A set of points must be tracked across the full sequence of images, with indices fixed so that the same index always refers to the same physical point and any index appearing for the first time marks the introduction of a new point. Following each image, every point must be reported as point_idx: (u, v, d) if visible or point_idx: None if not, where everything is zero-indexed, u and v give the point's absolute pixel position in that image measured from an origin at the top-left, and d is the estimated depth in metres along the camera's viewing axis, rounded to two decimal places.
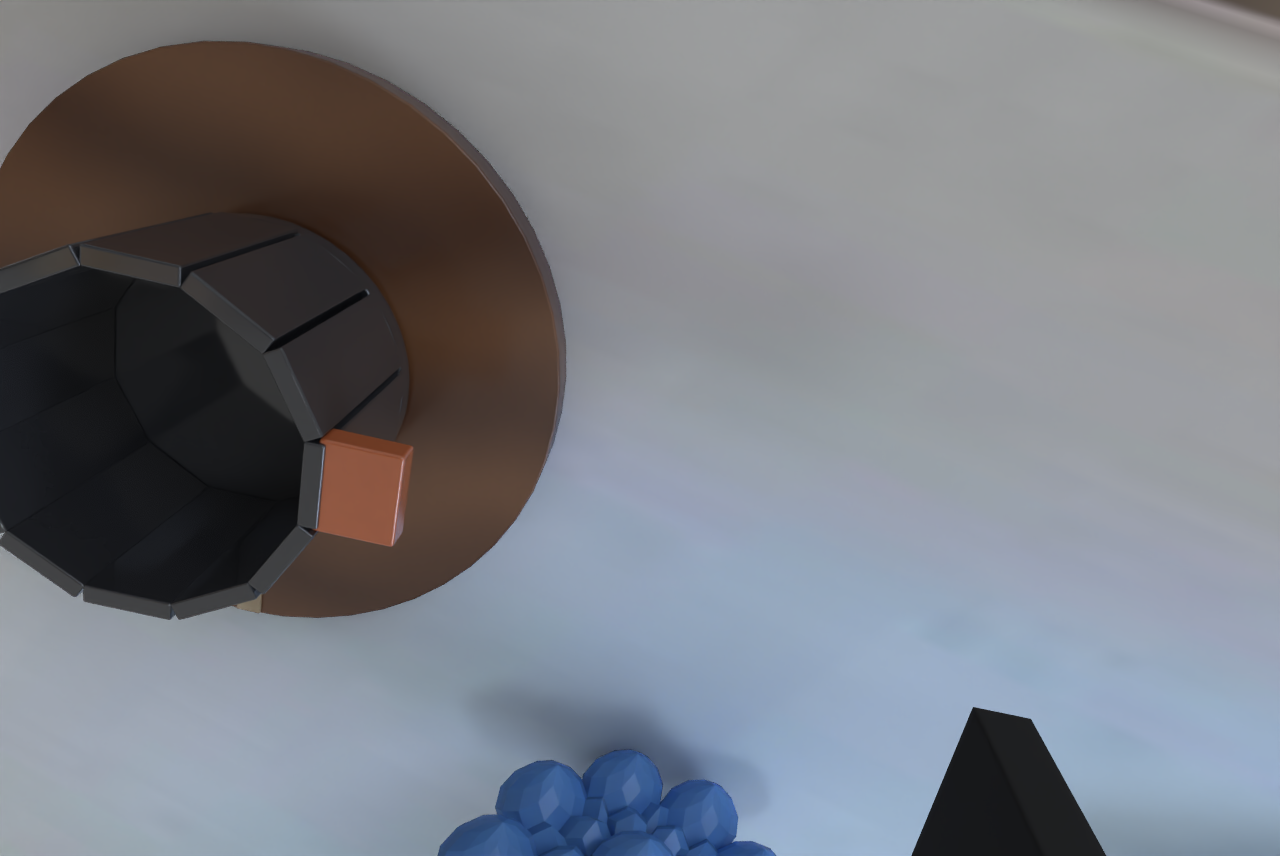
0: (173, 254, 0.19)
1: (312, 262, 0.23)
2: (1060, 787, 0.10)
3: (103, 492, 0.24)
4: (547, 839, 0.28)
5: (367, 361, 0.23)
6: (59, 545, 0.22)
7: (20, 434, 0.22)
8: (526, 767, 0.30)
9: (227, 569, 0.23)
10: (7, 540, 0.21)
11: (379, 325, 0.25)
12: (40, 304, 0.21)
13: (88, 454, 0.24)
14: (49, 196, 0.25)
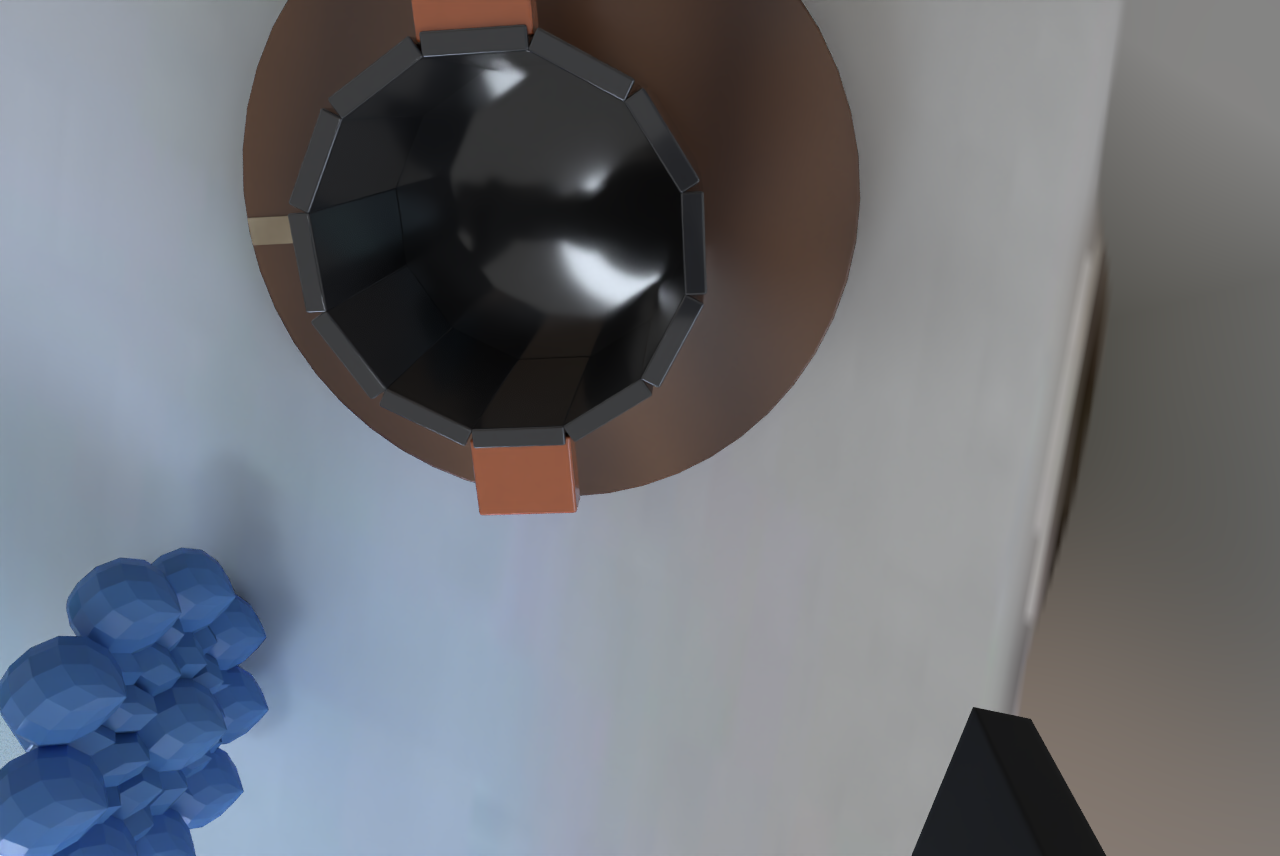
0: None
1: None
2: (1061, 788, 0.10)
3: (381, 137, 0.21)
4: (169, 637, 0.27)
5: None
6: (336, 163, 0.19)
7: (436, 69, 0.20)
8: (213, 564, 0.29)
9: (371, 331, 0.21)
10: (330, 121, 0.18)
11: None
12: None
13: (414, 103, 0.21)
14: None
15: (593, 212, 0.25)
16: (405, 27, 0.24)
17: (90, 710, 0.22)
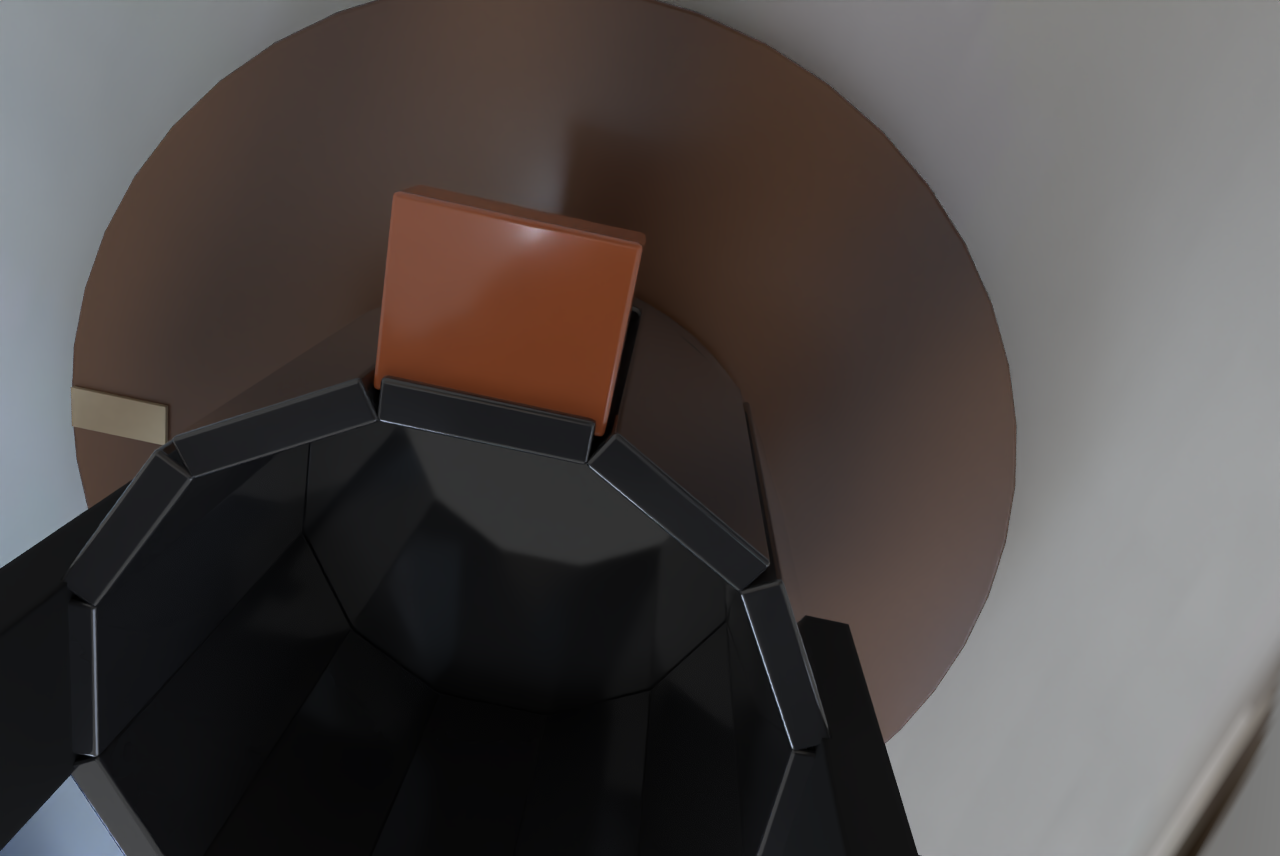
0: None
1: None
2: (859, 677, 0.11)
3: None
4: None
5: None
6: (175, 518, 0.10)
7: None
8: None
9: (189, 746, 0.12)
10: (169, 478, 0.09)
11: None
12: None
13: None
14: (807, 196, 0.15)
15: (606, 535, 0.16)
16: (387, 188, 0.15)
17: None
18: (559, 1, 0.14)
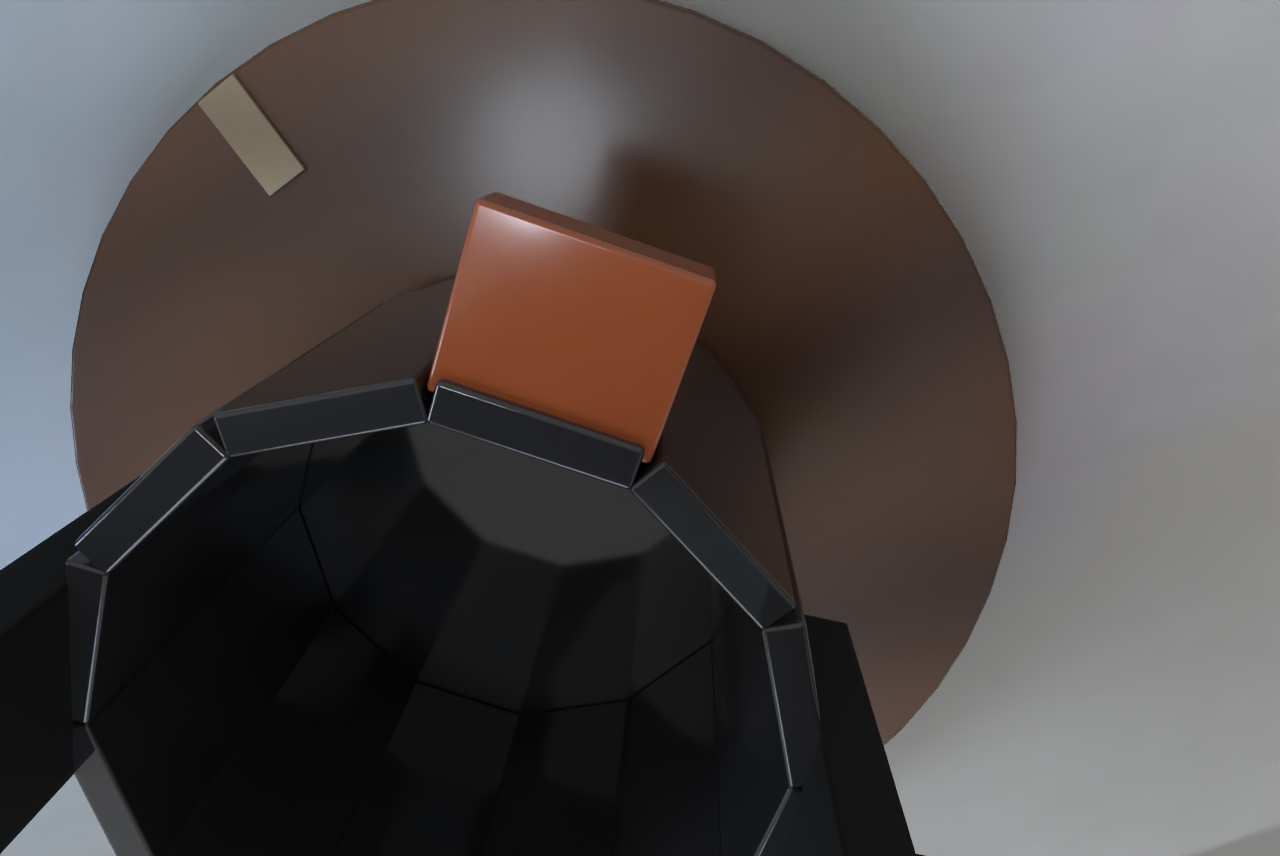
0: None
1: None
2: (858, 677, 0.11)
3: None
4: None
5: None
6: (199, 493, 0.10)
7: None
8: None
9: (174, 718, 0.12)
10: (205, 454, 0.09)
11: None
12: None
13: None
14: (933, 477, 0.16)
15: (604, 545, 0.16)
16: (664, 194, 0.15)
17: None
18: (917, 201, 0.15)
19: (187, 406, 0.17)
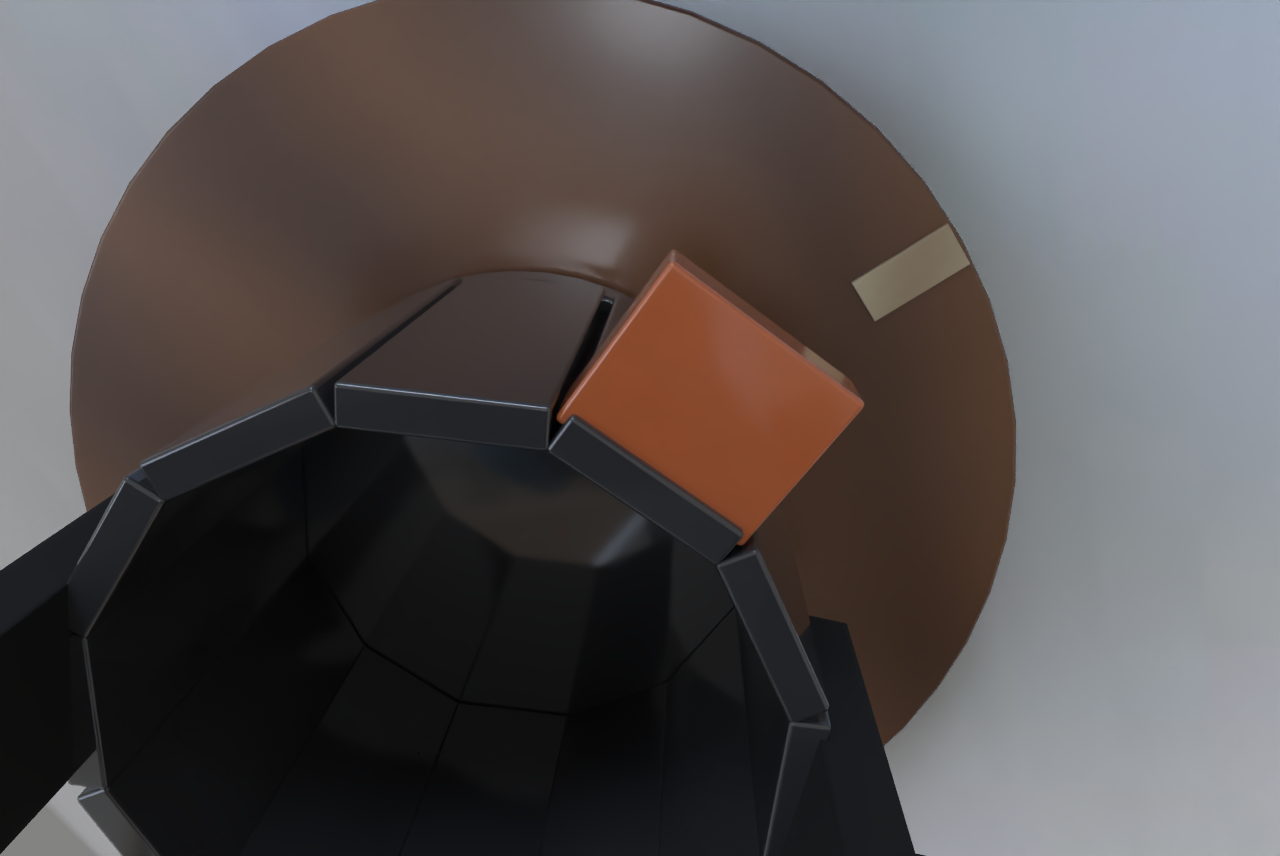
0: None
1: None
2: (857, 676, 0.11)
3: None
4: None
5: None
6: None
7: None
8: None
9: (156, 644, 0.11)
10: (312, 417, 0.09)
11: None
12: None
13: None
14: None
15: (595, 565, 0.16)
16: None
17: None
18: None
19: (624, 147, 0.14)
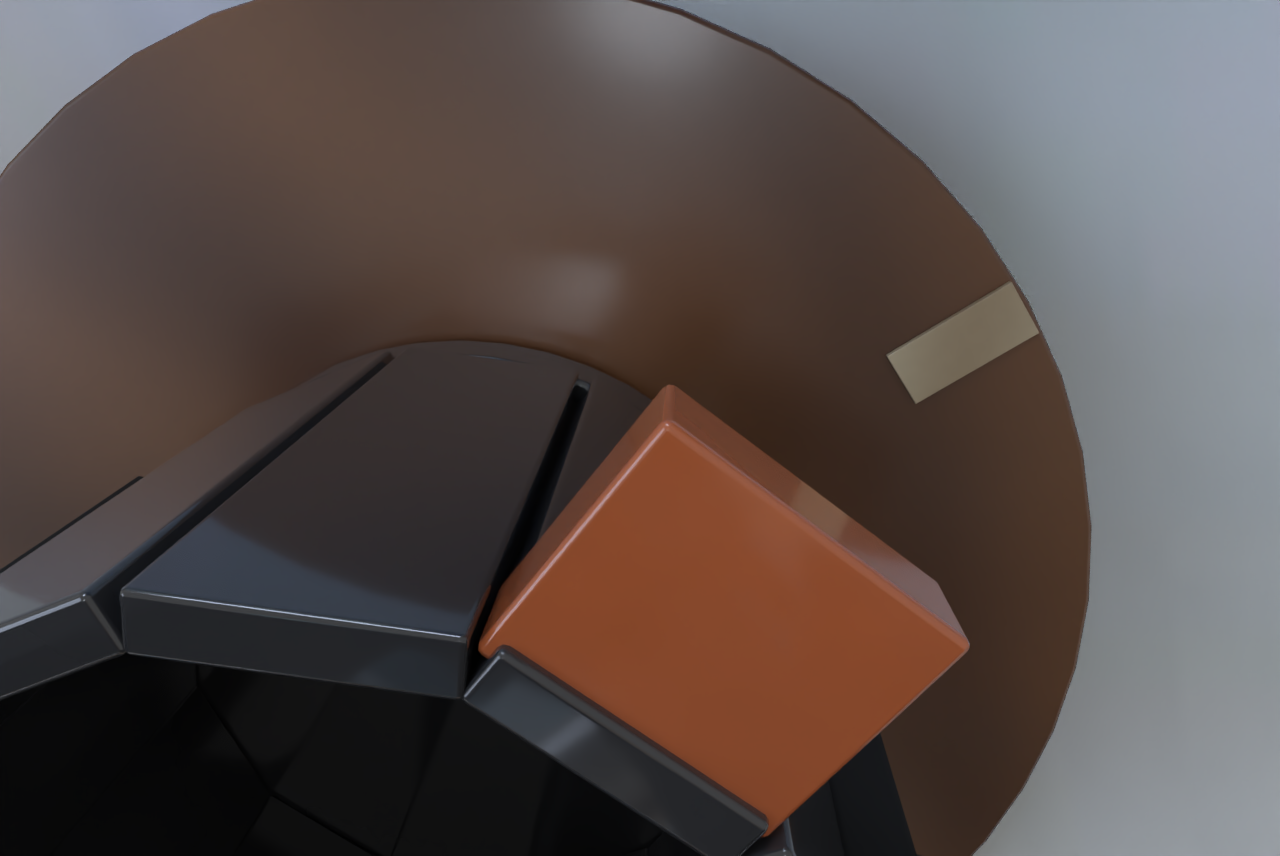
0: None
1: None
2: None
3: None
4: None
5: None
6: None
7: None
8: None
9: None
10: (87, 640, 0.06)
11: None
12: None
13: None
14: None
15: None
16: None
17: None
18: None
19: (594, 183, 0.11)
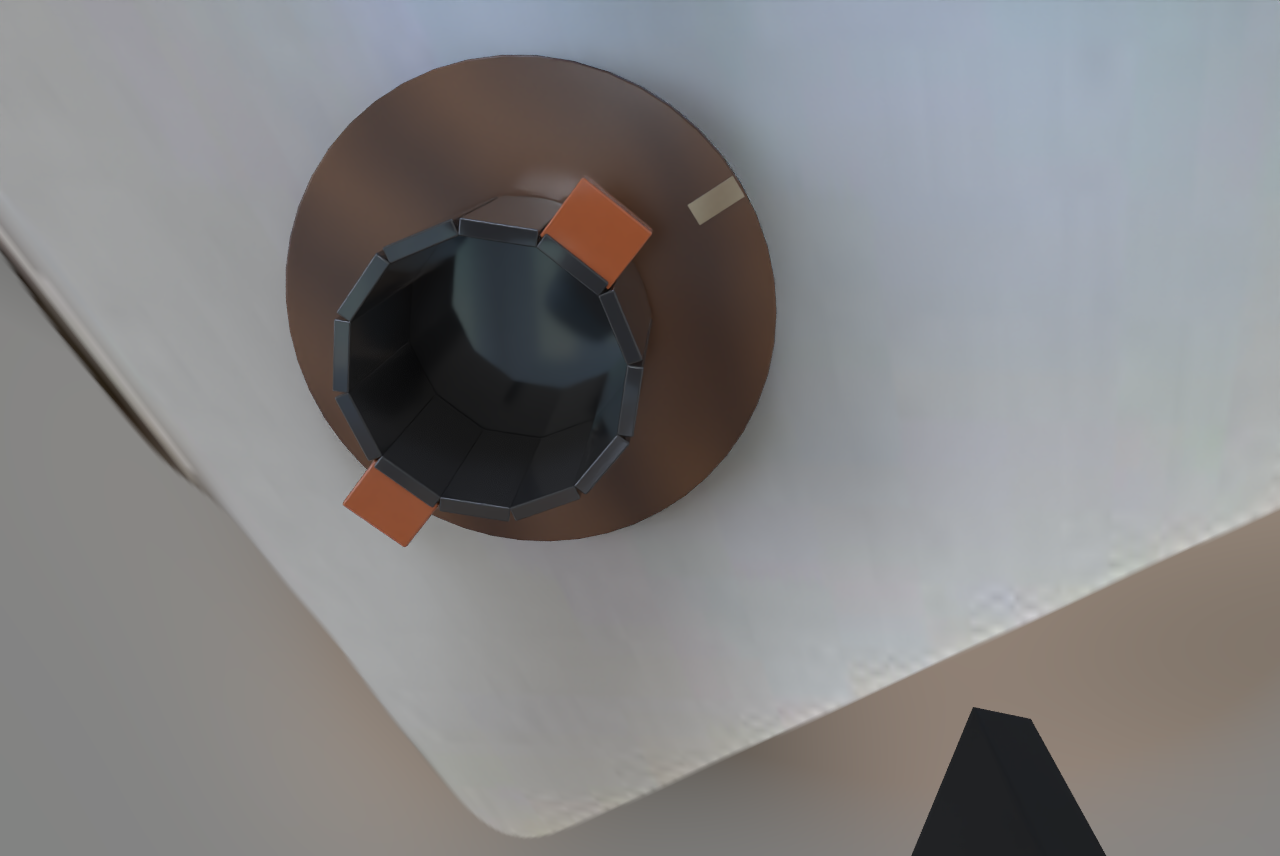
0: None
1: None
2: (1061, 787, 0.10)
3: None
4: None
5: None
6: None
7: None
8: None
9: (364, 341, 0.27)
10: (450, 231, 0.24)
11: None
12: None
13: None
14: None
15: (558, 351, 0.31)
16: (683, 390, 0.33)
17: None
18: (677, 493, 0.34)
19: (575, 135, 0.30)
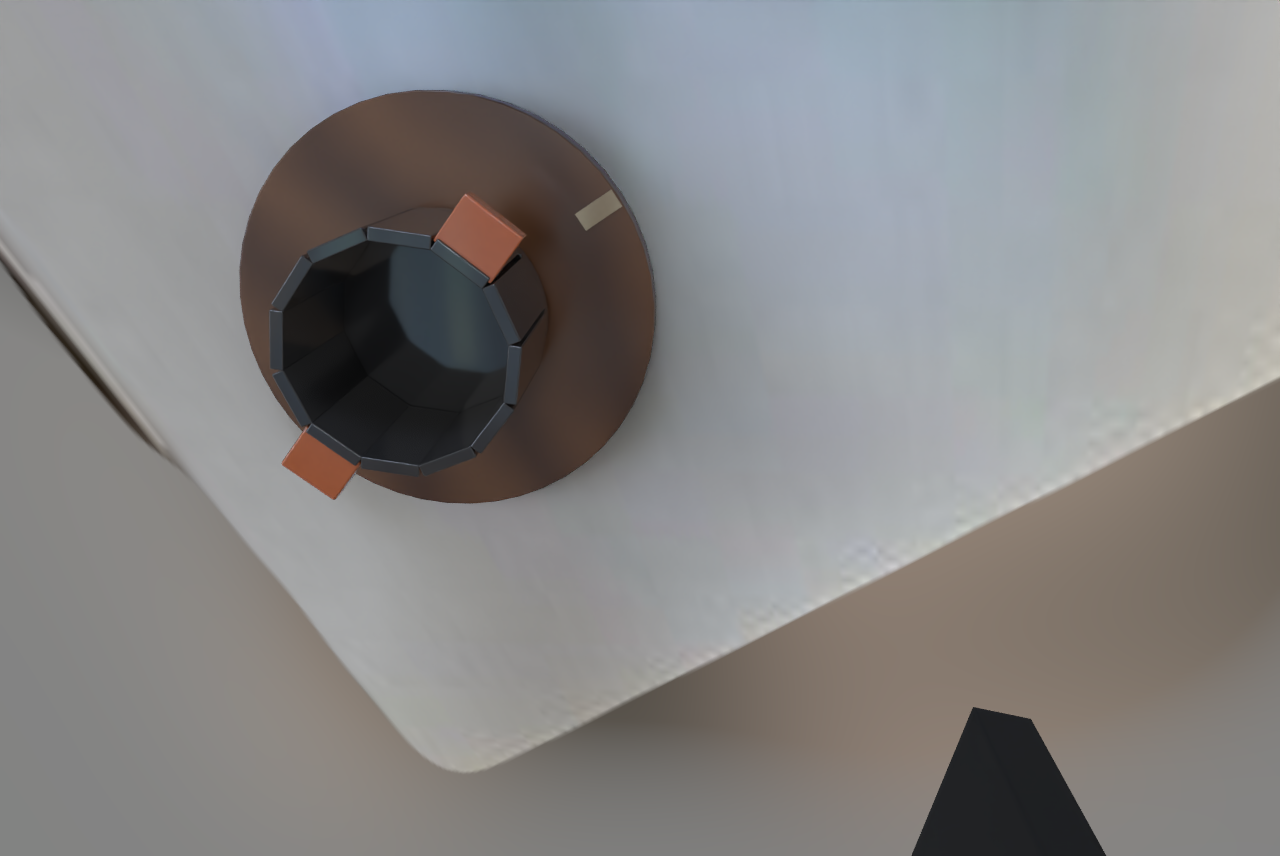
0: None
1: None
2: (1061, 788, 0.10)
3: None
4: None
5: None
6: None
7: None
8: None
9: (297, 328, 0.32)
10: (360, 237, 0.30)
11: None
12: None
13: None
14: (471, 473, 0.40)
15: (470, 338, 0.37)
16: (579, 371, 0.38)
17: None
18: (578, 460, 0.40)
19: (478, 156, 0.35)
